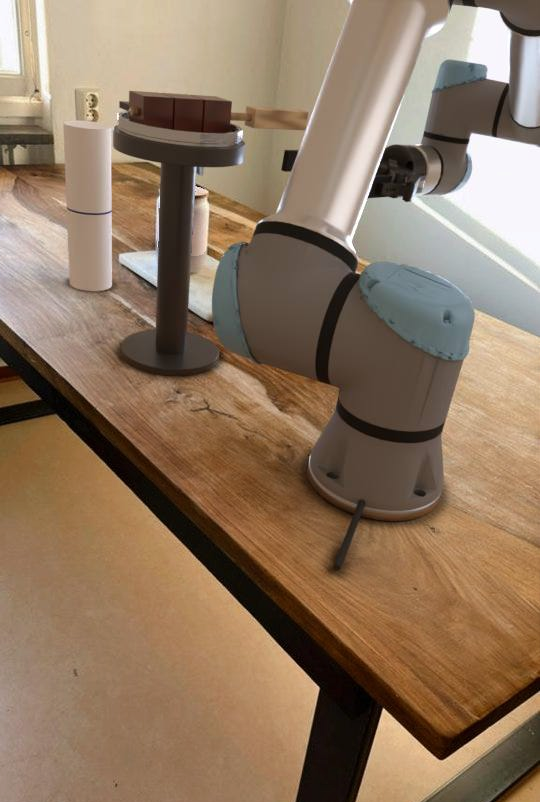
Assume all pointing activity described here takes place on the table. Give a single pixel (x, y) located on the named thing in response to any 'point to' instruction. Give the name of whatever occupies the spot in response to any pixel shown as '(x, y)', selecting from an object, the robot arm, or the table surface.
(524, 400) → the table surface
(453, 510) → the table surface
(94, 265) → the cylindrical container
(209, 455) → the table surface
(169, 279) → the plant stand
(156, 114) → the beef skewer
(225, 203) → the table surface
